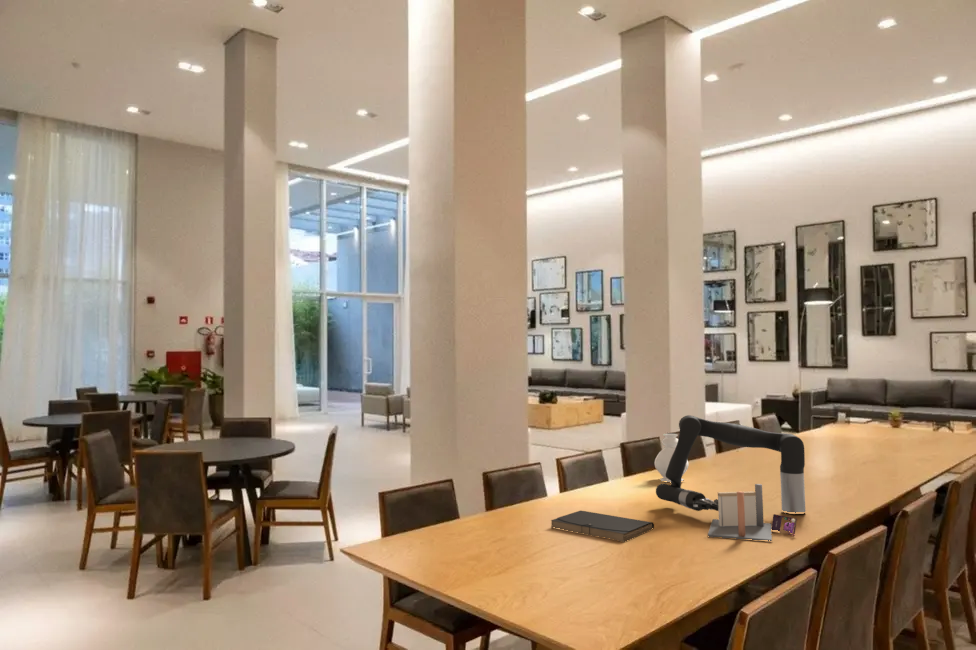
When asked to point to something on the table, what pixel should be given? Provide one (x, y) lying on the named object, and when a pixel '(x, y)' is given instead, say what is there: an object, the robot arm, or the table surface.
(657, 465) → the decorative vase
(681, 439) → the robot arm
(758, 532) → the board
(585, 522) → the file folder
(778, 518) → the purple decorated picture frame
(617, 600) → the table surface
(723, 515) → the panel
